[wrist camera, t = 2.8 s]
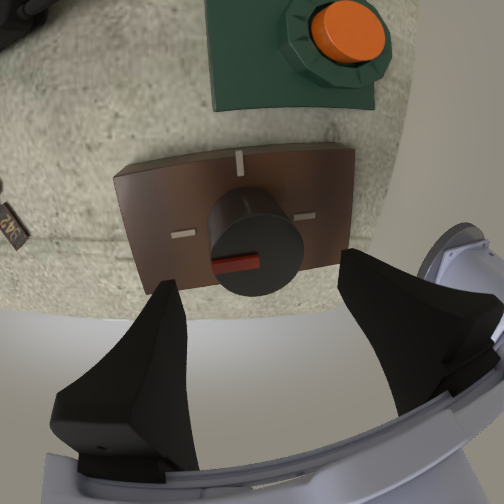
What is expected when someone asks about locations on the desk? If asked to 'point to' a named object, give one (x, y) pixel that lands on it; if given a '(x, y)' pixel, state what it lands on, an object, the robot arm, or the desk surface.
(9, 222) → the key tag
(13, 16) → the walkie-talkie
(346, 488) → the robot arm
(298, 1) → the button block
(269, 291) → the knob
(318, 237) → the lock panel
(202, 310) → the desk surface
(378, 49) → the button
